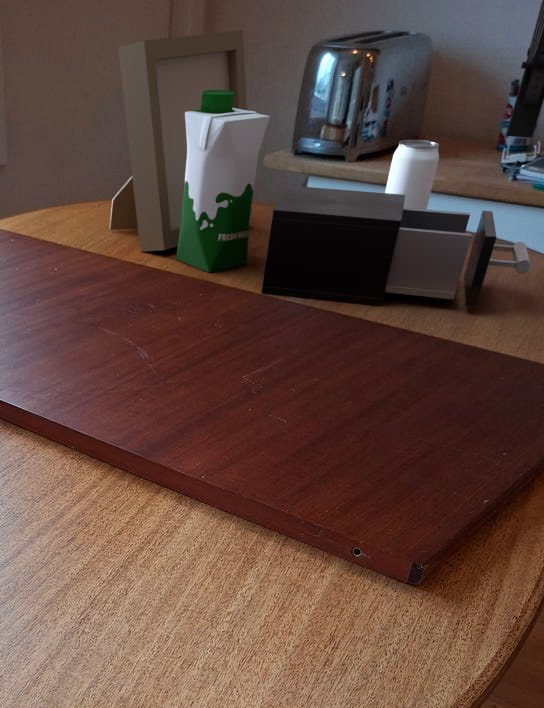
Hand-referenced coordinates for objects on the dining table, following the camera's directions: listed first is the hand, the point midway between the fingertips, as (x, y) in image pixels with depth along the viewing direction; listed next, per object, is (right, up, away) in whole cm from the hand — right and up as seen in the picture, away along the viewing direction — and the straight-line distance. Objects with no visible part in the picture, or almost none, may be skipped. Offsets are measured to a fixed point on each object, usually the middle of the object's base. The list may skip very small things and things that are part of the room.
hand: (519, 135), depth 101 cm
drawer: (-5, -13, +10) cm, 18 cm away
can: (-1, +5, +34) cm, 35 cm away
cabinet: (-18, -11, +14) cm, 25 cm away
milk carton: (-32, -6, +21) cm, 39 cm away
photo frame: (-36, +4, +33) cm, 49 cm away
